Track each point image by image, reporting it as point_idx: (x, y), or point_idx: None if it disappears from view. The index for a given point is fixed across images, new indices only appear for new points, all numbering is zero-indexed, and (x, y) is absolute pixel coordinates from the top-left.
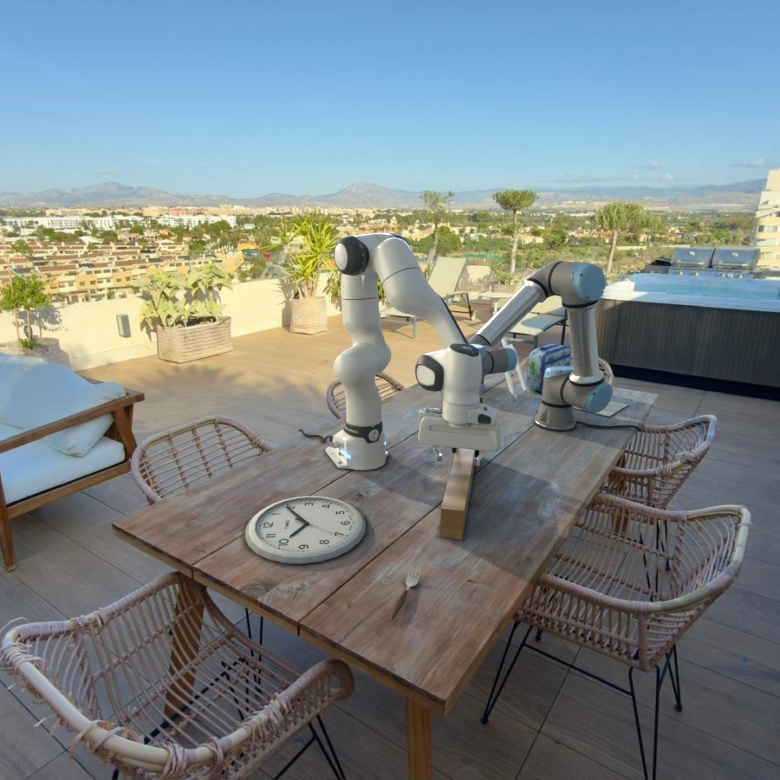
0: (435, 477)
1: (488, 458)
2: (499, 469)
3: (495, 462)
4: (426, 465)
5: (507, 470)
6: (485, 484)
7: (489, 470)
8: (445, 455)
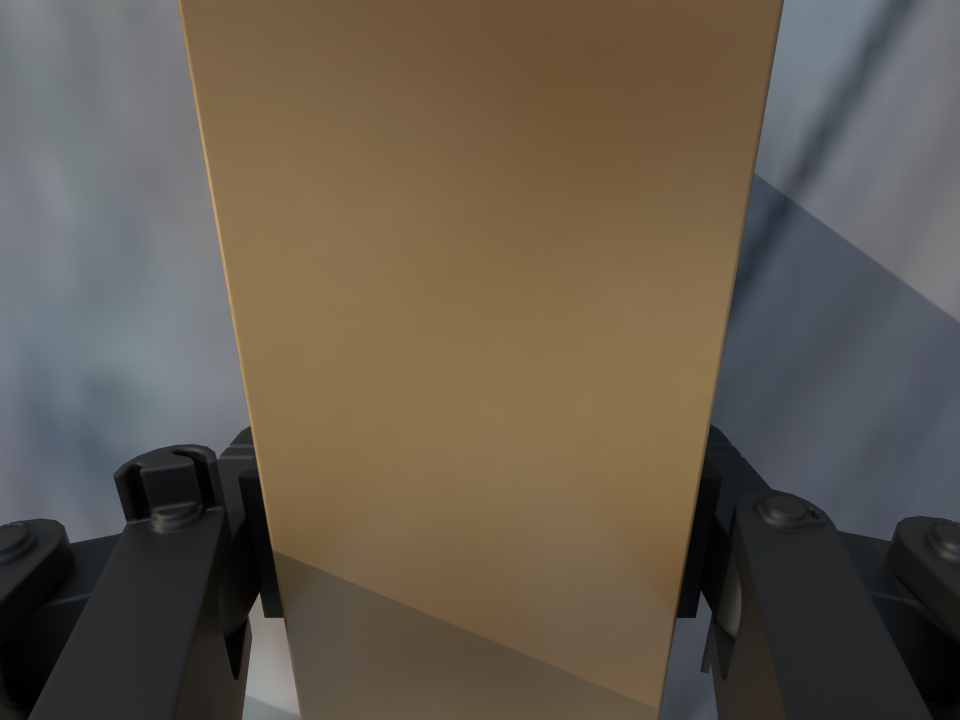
0: (247, 676)
1: (773, 115)
2: (853, 405)
3: (847, 227)
4: (77, 496)
5: (939, 407)
6: (669, 690)
7: None
8: (179, 174)
